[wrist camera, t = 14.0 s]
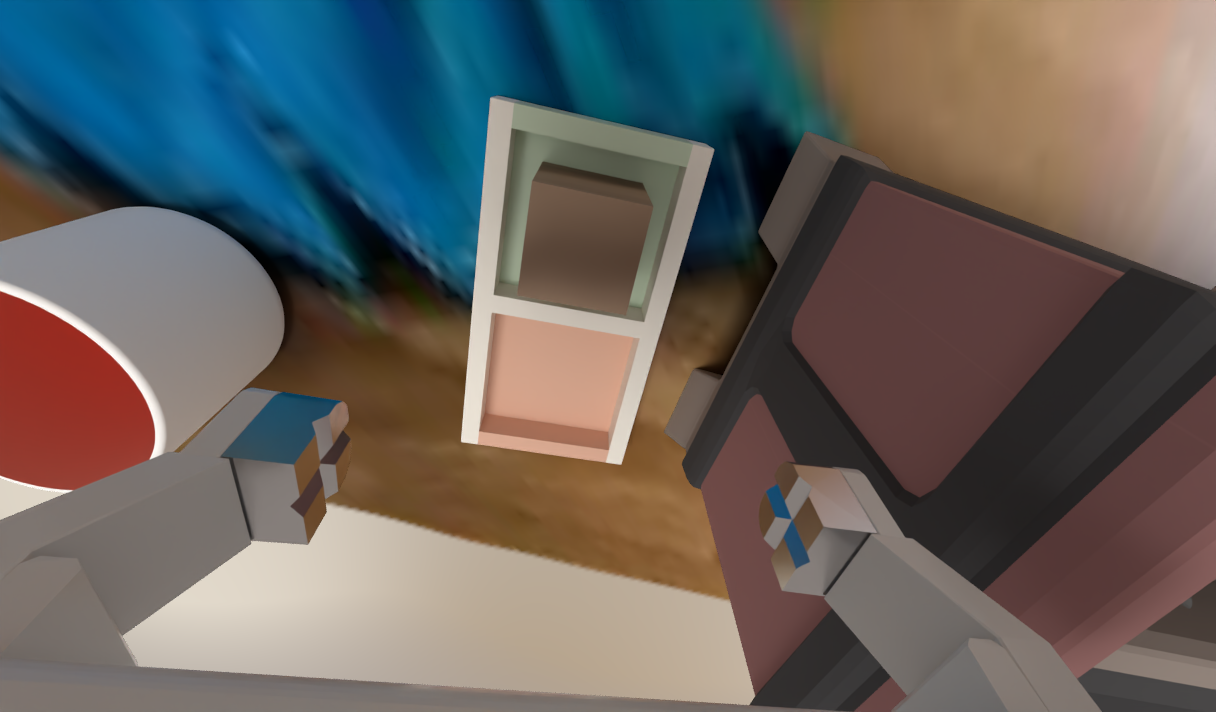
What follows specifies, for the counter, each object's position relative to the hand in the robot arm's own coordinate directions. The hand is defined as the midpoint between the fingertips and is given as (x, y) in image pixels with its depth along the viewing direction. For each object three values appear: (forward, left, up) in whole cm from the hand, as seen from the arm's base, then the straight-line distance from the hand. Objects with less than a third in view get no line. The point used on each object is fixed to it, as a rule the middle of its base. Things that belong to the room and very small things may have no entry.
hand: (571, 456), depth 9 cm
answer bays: (+5, 0, -19) cm, 19 cm away
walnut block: (0, 0, -18) cm, 18 cm away
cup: (+9, -20, -19) cm, 29 cm away
